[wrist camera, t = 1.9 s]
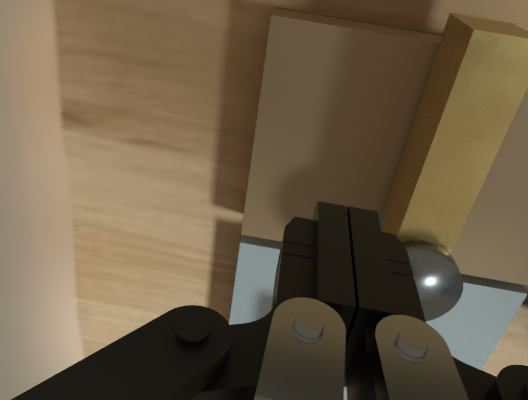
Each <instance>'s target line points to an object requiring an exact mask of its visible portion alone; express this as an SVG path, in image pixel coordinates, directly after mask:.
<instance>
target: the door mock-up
mask: <svg viewBox="0 0 528 400" xmlns="http://www.w3.org/2000/svg"><path fill="white" fill-rule="evenodd" d="M441 38H442V36H441V35H435V34H429V33H423V32H417V31H411V30H405V29H399V28H393V27H387V26H381V25H375V24H369V23H363V22H357V21H351V20H345V19H339V18H333V17H327V16H321V15H315V14H309V13H303V12H297V11H292V10H286V9H280V8H275V9H274V11H273V12H272V14H271V19H270V26H269V34H268V41H267V48H266V55H265V63H264V70H263V77H262V84H261V92H260V99H259V106H258V113H257V121H256V128H255V135H254V142H253V150H252V157H251V164H250V172H249V179H248V186H247V193H246V201H245V208H244V215H243V222H242V230H241V235H242V237H241V241H240V247H239V254H238V262H237V269H236V276H235V283H234V291H233V298H232V305H231V312H230V320H229V325H232V324H243V323H249V322H253V321H256V320H258V319H261V318H262V317H264V316H265V315H267V314H268V313H269V312H270V311H271V305H272V297H273V290H274V282H275V274H276V269H277V264H278V259H279V254H280V249H281V244H282V239H283V234H284V229H285V226H286V225H287V224H288V223H289V222H290V221H291V220H292V219H293V218H294V217H300V218H306V219H311V220H312V219H313V214H314V210H315V206H316V203H317V201H321V202H327V203H333V204H339V205H344V206H346V207H347V206H351V207H356V208H362V209H368V210H373V211H377V213H378V217H379V222H380V219H381V216H382V213H383V210H384V207H385V204H386V201H387V198H388V195H389V192H390V189H391V187H392V184H393V181H394V178H395V175H396V172H397V169H398V166H399V163H400V160H401V157H402V154H403V151H404V148H405V145H406V142H407V139H408V136H409V133H410V130H411V127H412V124H413V121H414V118H415V115H416V112H417V109H418V106H419V103H420V100H421V97H422V94H423V91H424V89H425V86H426V83H427V80H428V77H429V74H430V71H431V68H432V65H433V62H434V59H435V56H436V53H437V50H438V47H439V44H440V41H441ZM451 256H452V257H453V258H454V260H455V262H456V264H457V266H458V269H459V271H460V274H461V276H462V279H463V292H462V295H461V298H460V299H459V301H458V303H457V304H456V305H455V306H454V307H453V308H452V309H451V310H450V311H449V312H447V313H446V314H444V315H442V316H441V317H438V318H436V319H433V320H430V321H426V323H427V324H428V325H430V326H431V327H433V328H434V329H435V330H436V331H437V332H438V333H439V334H440V335H441V336H442V337H443V339H444V340H445V342H446V343H447V345H448V347H449V350H450V353H451V355H452V356H453V357H455V358H456V359H458V360H460V361H462V362H464V363H466V364H468V365H470V366H473V367H475V368H477V369H479V370H481V369H482V367H483V366H484V364H485V362H486V361H487V359H488V358H489V356H490V354H491V353H492V351H493V349H494V348H495V346H496V345H497V343H498V341H499V340H500V338H501V337H502V335H503V333H504V332H505V330H506V328H507V327H508V325H509V324H510V322H511V320H512V319H513V317H514V315H515V314H516V312H517V311H518V309H519V307H520V306H521V304H522V302H523V301H524V299H525V298H526V296H527V292H526V290H525V288H524V286H523V285H527V286H528V87H527V90H526V92H525V94H524V96H523V98H522V100H521V103H520V105H519V107H518V109H517V111H516V113H515V116H514V118H513V120H512V122H511V124H510V126H509V129H508V131H507V133H506V135H505V137H504V139H503V142H502V144H501V146H500V148H499V150H498V152H497V155H496V157H495V159H494V161H493V163H492V165H491V168H490V170H489V172H488V174H487V176H486V178H485V181H484V183H483V185H482V187H481V189H480V191H479V194H478V196H477V198H476V200H475V202H474V204H473V207H472V209H471V211H470V213H469V215H468V217H467V220H466V222H465V224H464V226H463V228H462V230H461V233H460V235H459V237H458V239H457V241H456V243H455V246H454V248H453V250H452V252H451ZM344 400H347V387H344Z"/></svg>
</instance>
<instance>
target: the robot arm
mask: <svg viewBox="0 0 528 400" xmlns="http://www.w3.org/2000/svg"><path fill="white" fill-rule="evenodd" d="M413 276H414V275H413V271H412V268H411V266H410V260H409V256H408V253H407V249H406V247H405V246H404V245H403V244H402V242H401V241H400V240H399V239H398V238H397V236H396V235H395V234H392V233H386V232H381V227H380V222H379V217H378V213H377V211H373V210H368V209H362V208H356V207H351V206H347V207H346V206H344V205H339V204H333V203H327V202H321V201H317V203H316V206H315V210H314V214H313V219H312V220H311V219H306V218H300V217H294V218H293V219H292V220H291V221H290V222H289V223H288V224H287V225H286V226H285V229H284V234H283V239H282V244H281V249H280V254H279V259H278V264H277V269H276V274H275V282H274V290H273V297H272V305H271V311H270V312H269V313H268V314H267V315H265V316H264V317H262V318H261V319H258V320H256V321H253V322H249V323H243V324H232V325H229V324H228V322H227V321H226V319H225V318H224V317H223V316H222V315H220V314H219V313H218V312H216V311H214V310H212V309H210V308H207V307H203V306H196V305H189V306H182V307H178V308H175V309H172V310H170V311H168V312H166V313H165V314H163V315H161V316H159V317H158V318H156V319H154V320H152V321H150V322H149V323H147V324H145V325H143V326H141V327H140V328H138V329H136V330H134V331H133V332H131V333H129V334H127V335H125V336H124V337H122V338H120V339H118V340H117V341H115V342H113V343H111V344H109V345H108V346H106V347H104V348H102V349H101V350H99V351H97V352H95V353H93V354H92V355H90V356H88V357H86V358H84V359H83V360H81V361H79V362H77V363H76V364H74V365H72V366H70V367H68V368H67V369H65V370H63V371H61V372H60V373H58V374H56V375H54V376H53V377H51V378H49V379H47V380H45V381H43V382H42V383H40V384H38V385H36V386H35V387H33V388H31V389H29V390H27V391H26V392H24V393H22V394H20V395H19V396H17V397H15V398H13V399H12V400H344V387H347V400H528V366H524V365H510V366H507V367H505V368H503V369H502V370H501V371H500V373H499V374H498V376H497V377H495V376H493V375H491V374H489V373H486V372H484V371H482V370H479V369H477V368H475V367H473V366H470V365H468V364H466V363H464V362H462V361H460V360H458V359H456V358H455V357H453V356H452V355H451V353H450V350H449V347H448V345H447V343H446V342H445V340H444V339H443V337H442V336H441V335H440V334H439V333H438V332H437V331H436V330H435V329H434V328H433V327H431V326H430V325H428V324H427V323H426V320H425V317H424V313H423V309H422V305H421V301H420V298H419V294H418V290H417V286H416V283H415V279H414V278H413Z"/></svg>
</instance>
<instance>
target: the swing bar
mask: <svg viewBox="0 0 528 400" xmlns="http://www.w3.org/2000/svg"><path fill="white" fill-rule="evenodd" d="M527 87H528V31H526V30H524V29H522V28H520V27H518V26H516V25H514V24H512V23H506V22H500V21H494V20H488V19H482V18H476V17H470V16H464V15H458V14H452V13H450V14H449V17H448V20H447V23H446V26H445V29H444V32H443V35H442V38H441V41H440V44H439V47H438V50H437V53H436V56H435V59H434V62H433V65H432V68H431V71H430V74H429V77H428V80H427V83H426V86H425V89H424V91H423V94H422V97H421V100H420V103H419V106H418V109H417V112H416V115H415V118H414V121H413V124H412V127H411V130H410V133H409V136H408V139H407V142H406V145H405V148H404V151H403V154H402V157H401V160H400V163H399V166H398V169H397V172H396V175H395V178H394V181H393V184H392V187H391V189H390V192H389V195H388V198H387V201H386V204H385V207H384V210H383V213H382V216H381V219H380V227H381V232H386V233H392V234H395V235H396V236H397V238H398V239H399V240H400V241H401V242H402V244H403V245H404V246H405V247H406V249H407V253H408V256H409V260H410V266H411V268H412V271H413V275H414V276H413V278H414V279H415V283H416V286H417V290H418V294H419V298H420V301H421V305H422V309H423V313H424V317H425V320H426V321H430V320H433V319H436V318H438V317H441V316H442V315H444V314H446V313H447V312H449V311H450V310H451V309H452V308H453V307H454V306H455V305H456V304H457V303H458V301H459V299H460V298H461V295H462V292H463V279H462V276H461V274H460V271H459V269H458V266H457V264H456V262H455V260H454V258H453V257H452V256H451V252H452V250H453V248H454V246H455V243H456V241H457V239H458V237H459V235H460V233H461V230H462V228H463V226H464V224H465V222H466V220H467V217H468V215H469V213H470V211H471V209H472V207H473V204H474V202H475V200H476V198H477V196H478V194H479V191H480V189H481V187H482V185H483V183H484V181H485V178H486V176H487V174H488V172H489V170H490V168H491V165H492V163H493V161H494V159H495V157H496V155H497V152H498V150H499V148H500V146H501V144H502V142H503V139H504V137H505V135H506V133H507V131H508V129H509V126H510V124H511V122H512V120H513V118H514V116H515V113H516V111H517V109H518V107H519V105H520V103H521V100H522V98H523V96H524V94H525V92H526V90H527Z"/></svg>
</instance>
